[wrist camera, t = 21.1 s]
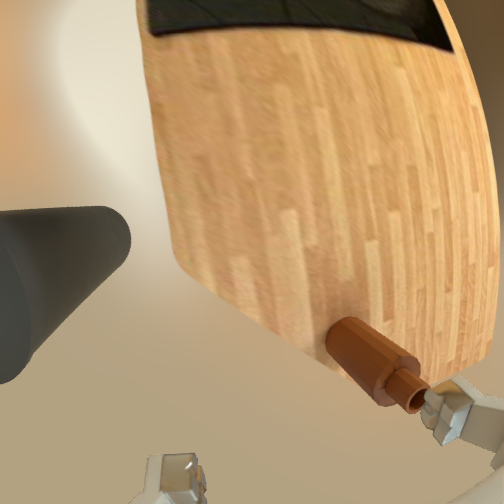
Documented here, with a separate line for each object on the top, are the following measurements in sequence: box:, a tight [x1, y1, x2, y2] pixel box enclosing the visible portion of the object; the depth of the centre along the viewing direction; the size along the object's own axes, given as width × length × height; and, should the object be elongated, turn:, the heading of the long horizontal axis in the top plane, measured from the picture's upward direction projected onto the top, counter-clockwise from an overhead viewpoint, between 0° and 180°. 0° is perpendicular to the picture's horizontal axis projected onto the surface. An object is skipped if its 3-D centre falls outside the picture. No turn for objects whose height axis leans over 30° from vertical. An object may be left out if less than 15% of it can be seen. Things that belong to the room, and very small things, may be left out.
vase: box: [326, 317, 431, 414], centre depth 33 cm, size 6×6×17 cm
